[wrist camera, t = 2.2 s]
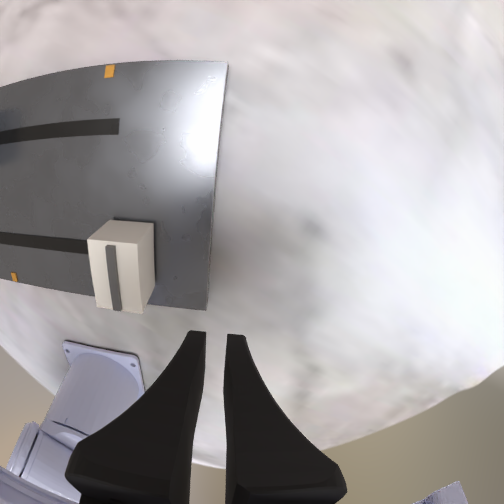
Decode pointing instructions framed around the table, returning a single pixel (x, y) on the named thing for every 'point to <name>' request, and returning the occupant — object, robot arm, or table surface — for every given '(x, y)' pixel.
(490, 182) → the table surface
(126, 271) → the block
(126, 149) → the plate
